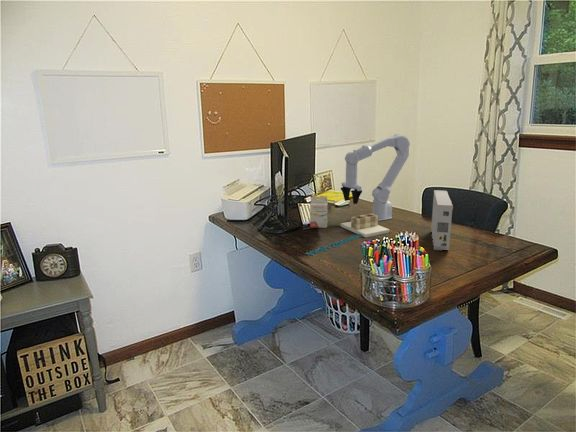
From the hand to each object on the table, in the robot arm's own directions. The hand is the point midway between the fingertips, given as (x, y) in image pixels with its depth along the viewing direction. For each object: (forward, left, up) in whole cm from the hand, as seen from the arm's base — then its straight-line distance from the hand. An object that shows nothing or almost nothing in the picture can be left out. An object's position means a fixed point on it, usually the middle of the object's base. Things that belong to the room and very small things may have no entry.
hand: (351, 202), depth 216 cm
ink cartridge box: (+20, +1, -10) cm, 22 cm away
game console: (-13, +48, -10) cm, 51 cm away
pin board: (+4, +17, -9) cm, 20 cm away
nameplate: (+27, +28, -10) cm, 40 cm away
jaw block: (+4, +17, -8) cm, 19 cm away
